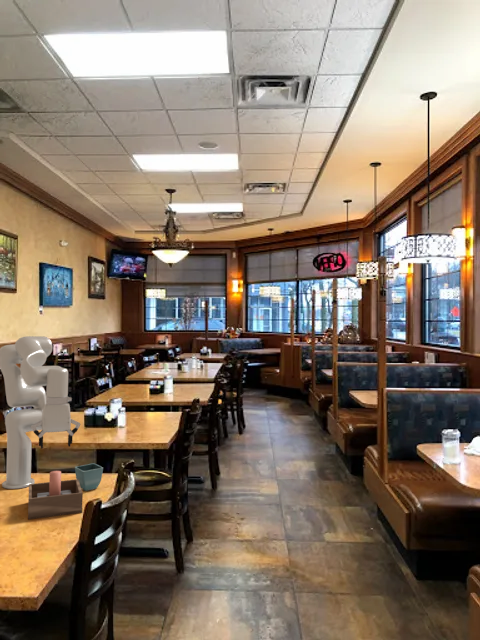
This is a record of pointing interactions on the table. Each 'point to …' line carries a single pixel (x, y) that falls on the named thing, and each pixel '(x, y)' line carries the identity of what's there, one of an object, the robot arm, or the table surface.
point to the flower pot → (89, 476)
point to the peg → (55, 483)
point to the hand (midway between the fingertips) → (55, 446)
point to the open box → (54, 500)
